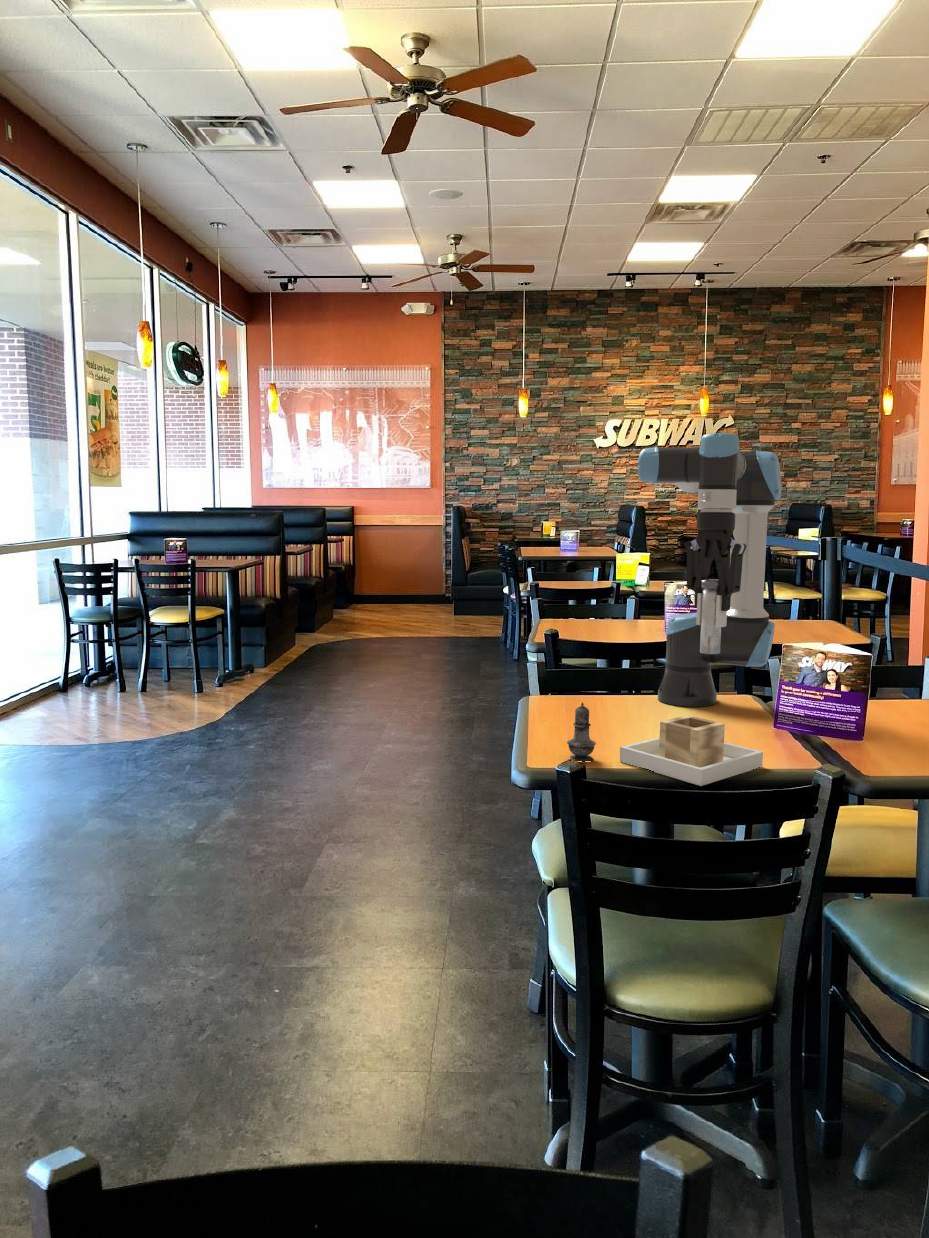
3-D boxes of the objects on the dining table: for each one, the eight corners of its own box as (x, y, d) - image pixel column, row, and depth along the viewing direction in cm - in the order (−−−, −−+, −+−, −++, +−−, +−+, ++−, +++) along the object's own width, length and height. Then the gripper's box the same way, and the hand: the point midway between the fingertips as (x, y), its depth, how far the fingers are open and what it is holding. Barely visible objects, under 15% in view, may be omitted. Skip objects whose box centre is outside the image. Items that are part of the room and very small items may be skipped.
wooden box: (686, 752, 194) (688, 715, 193) (723, 762, 187) (724, 723, 186) (658, 760, 189) (660, 721, 187) (695, 770, 182) (696, 730, 181)
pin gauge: (707, 650, 195) (710, 578, 194) (726, 653, 192) (730, 580, 190) (693, 652, 192) (696, 579, 191) (712, 655, 189) (715, 581, 187)
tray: (681, 745, 202) (682, 731, 201) (762, 766, 186) (763, 751, 186) (619, 761, 189) (620, 746, 189) (700, 785, 174) (701, 769, 174)
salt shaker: (575, 764, 187) (577, 706, 185) (561, 757, 192) (562, 700, 191) (601, 761, 189) (602, 704, 188) (586, 754, 195) (587, 698, 193)
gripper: (670, 510, 193) (666, 622, 195) (741, 511, 180) (736, 631, 182) (693, 510, 197) (688, 620, 200) (763, 511, 184) (757, 628, 187)
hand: (711, 625), depth 191 cm, fingers closed on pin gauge, 4 cm apart
